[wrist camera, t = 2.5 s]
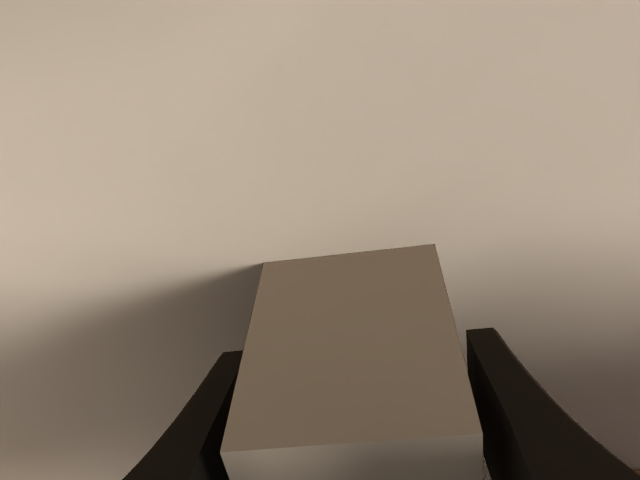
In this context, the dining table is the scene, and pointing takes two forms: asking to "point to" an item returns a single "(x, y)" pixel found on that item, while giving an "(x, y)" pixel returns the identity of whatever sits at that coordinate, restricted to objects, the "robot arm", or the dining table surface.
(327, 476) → the granite block
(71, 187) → the dining table surface
